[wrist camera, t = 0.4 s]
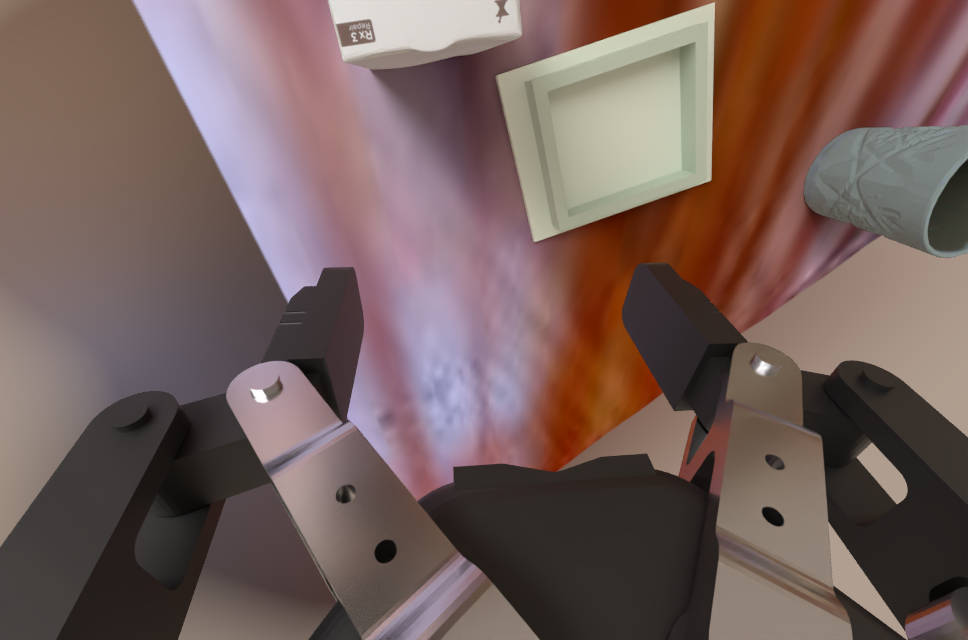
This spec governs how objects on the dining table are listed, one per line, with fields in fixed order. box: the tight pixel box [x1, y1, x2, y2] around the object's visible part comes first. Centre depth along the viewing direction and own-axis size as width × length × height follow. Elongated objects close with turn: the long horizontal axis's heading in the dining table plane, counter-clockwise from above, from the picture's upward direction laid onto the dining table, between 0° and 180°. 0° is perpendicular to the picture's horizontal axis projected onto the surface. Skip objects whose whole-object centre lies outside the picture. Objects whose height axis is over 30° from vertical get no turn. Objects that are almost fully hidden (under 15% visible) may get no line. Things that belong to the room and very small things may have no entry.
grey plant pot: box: [803, 125, 968, 258], centre depth 37 cm, size 10×10×12 cm
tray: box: [495, 2, 715, 242], centre depth 34 cm, size 14×18×3 cm
